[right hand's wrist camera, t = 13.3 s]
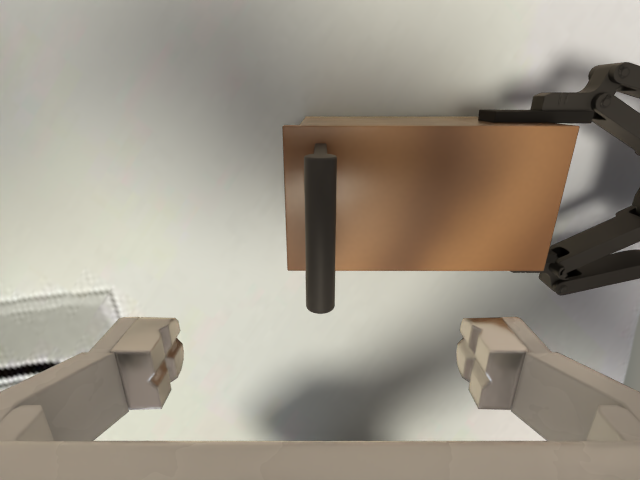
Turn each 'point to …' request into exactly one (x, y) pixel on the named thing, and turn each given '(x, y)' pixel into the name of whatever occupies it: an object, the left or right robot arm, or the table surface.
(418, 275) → the table surface
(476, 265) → the lid
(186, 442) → the right robot arm
